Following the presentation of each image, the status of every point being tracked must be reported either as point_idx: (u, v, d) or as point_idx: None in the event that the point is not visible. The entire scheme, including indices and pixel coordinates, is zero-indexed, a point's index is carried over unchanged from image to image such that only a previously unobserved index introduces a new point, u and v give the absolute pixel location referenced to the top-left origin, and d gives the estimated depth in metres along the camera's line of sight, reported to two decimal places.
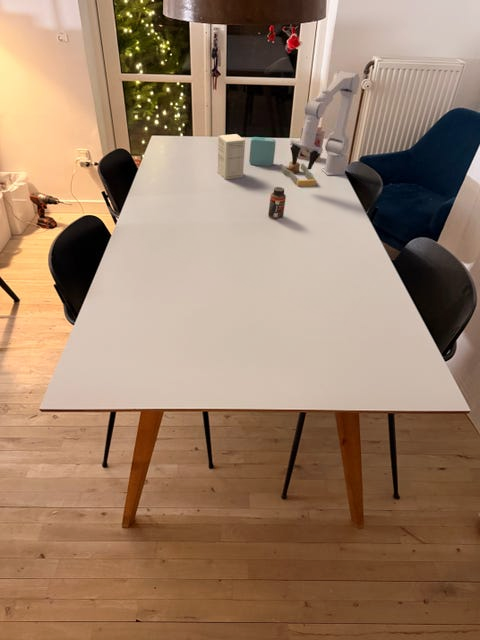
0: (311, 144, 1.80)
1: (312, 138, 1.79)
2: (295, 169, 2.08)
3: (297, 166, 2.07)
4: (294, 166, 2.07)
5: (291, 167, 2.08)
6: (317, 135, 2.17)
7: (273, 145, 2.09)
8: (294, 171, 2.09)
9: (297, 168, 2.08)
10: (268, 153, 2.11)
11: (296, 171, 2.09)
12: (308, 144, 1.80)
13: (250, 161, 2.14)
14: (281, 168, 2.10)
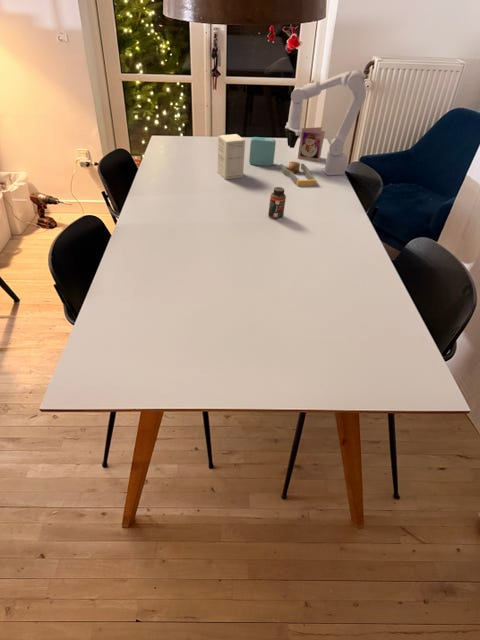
0: (293, 127, 2.03)
1: (293, 121, 2.01)
2: (295, 169, 2.08)
3: (297, 166, 2.07)
4: (294, 166, 2.07)
5: (291, 167, 2.08)
6: (317, 135, 2.17)
7: (273, 145, 2.09)
8: (294, 171, 2.09)
9: (297, 168, 2.08)
10: (268, 153, 2.11)
11: (296, 171, 2.09)
12: (290, 126, 2.03)
13: (250, 161, 2.14)
14: (281, 168, 2.10)
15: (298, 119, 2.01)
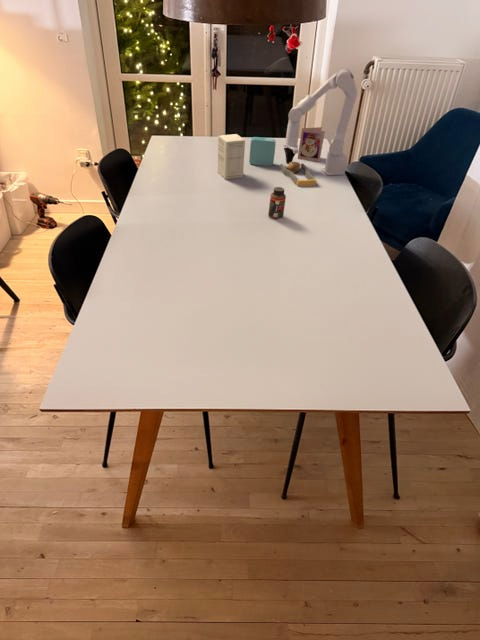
0: (291, 144, 2.08)
1: (291, 139, 2.06)
2: (295, 169, 2.08)
3: (297, 166, 2.07)
4: (294, 166, 2.07)
5: (291, 166, 2.08)
6: (317, 135, 2.17)
7: (273, 145, 2.09)
8: (294, 171, 2.09)
9: (297, 168, 2.08)
10: (268, 153, 2.11)
11: (296, 171, 2.09)
12: (288, 144, 2.08)
13: (250, 161, 2.14)
14: (281, 168, 2.10)
15: (295, 137, 2.06)
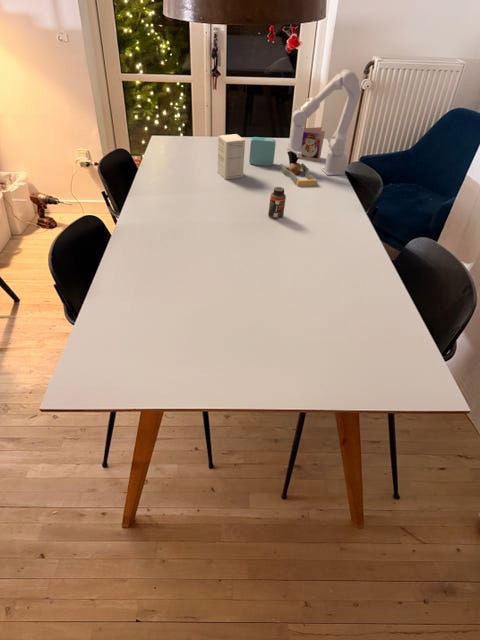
0: (294, 148, 2.04)
1: (295, 143, 2.02)
2: (296, 170, 2.07)
3: (298, 167, 2.06)
4: (295, 167, 2.06)
5: (292, 168, 2.06)
6: (317, 135, 2.17)
7: (273, 145, 2.09)
8: (295, 172, 2.07)
9: (298, 169, 2.07)
10: (268, 153, 2.11)
11: (297, 172, 2.08)
12: (292, 148, 2.04)
13: (250, 161, 2.14)
14: (281, 168, 2.10)
15: (299, 141, 2.02)
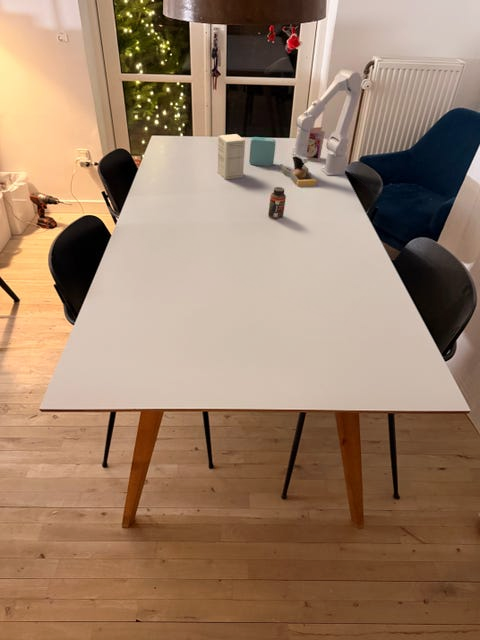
0: (300, 153, 1.99)
1: (300, 148, 1.97)
2: (301, 176, 2.01)
3: (303, 173, 2.01)
4: (300, 173, 2.00)
5: (297, 173, 2.01)
6: (317, 135, 2.17)
7: (273, 145, 2.09)
8: (300, 178, 2.02)
9: (303, 175, 2.01)
10: (268, 153, 2.11)
11: (302, 178, 2.02)
12: (297, 153, 1.99)
13: (250, 161, 2.14)
14: (281, 168, 2.10)
15: (305, 146, 1.97)
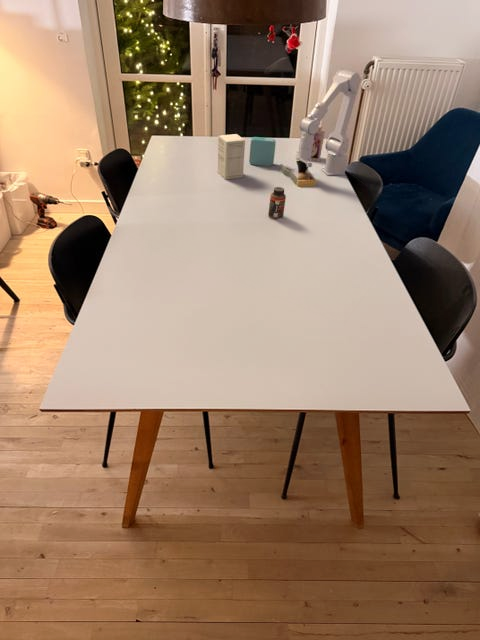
0: (304, 157, 1.95)
1: (304, 152, 1.93)
2: None
3: (307, 177, 1.97)
4: (304, 177, 1.97)
5: (301, 177, 1.97)
6: (317, 135, 2.17)
7: (273, 145, 2.09)
8: None
9: (307, 179, 1.98)
10: (268, 153, 2.11)
11: None
12: (301, 157, 1.95)
13: (250, 161, 2.14)
14: (281, 168, 2.10)
15: (309, 150, 1.93)
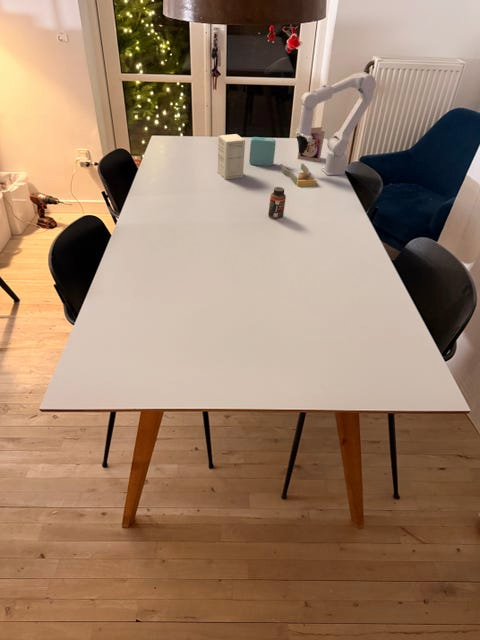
0: (304, 132, 1.97)
1: (304, 127, 1.95)
2: None
3: (307, 177, 1.97)
4: (304, 177, 1.97)
5: (301, 178, 1.97)
6: (317, 135, 2.17)
7: (273, 145, 2.09)
8: None
9: (307, 179, 1.98)
10: (268, 153, 2.11)
11: None
12: (301, 132, 1.97)
13: (250, 161, 2.14)
14: (281, 168, 2.10)
15: (309, 125, 1.95)
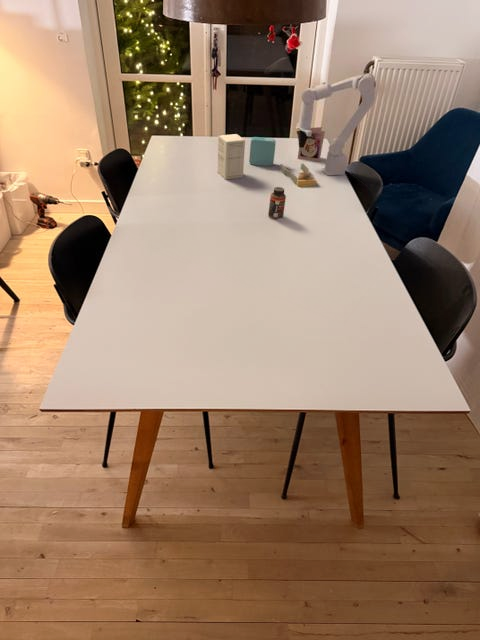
0: (304, 127, 2.03)
1: (304, 122, 2.01)
2: None
3: (307, 177, 1.97)
4: (304, 177, 1.97)
5: (301, 178, 1.97)
6: (317, 135, 2.17)
7: (273, 145, 2.09)
8: None
9: (307, 179, 1.98)
10: (268, 153, 2.11)
11: None
12: (301, 127, 2.03)
13: (250, 161, 2.14)
14: (281, 168, 2.10)
15: (309, 120, 2.01)
